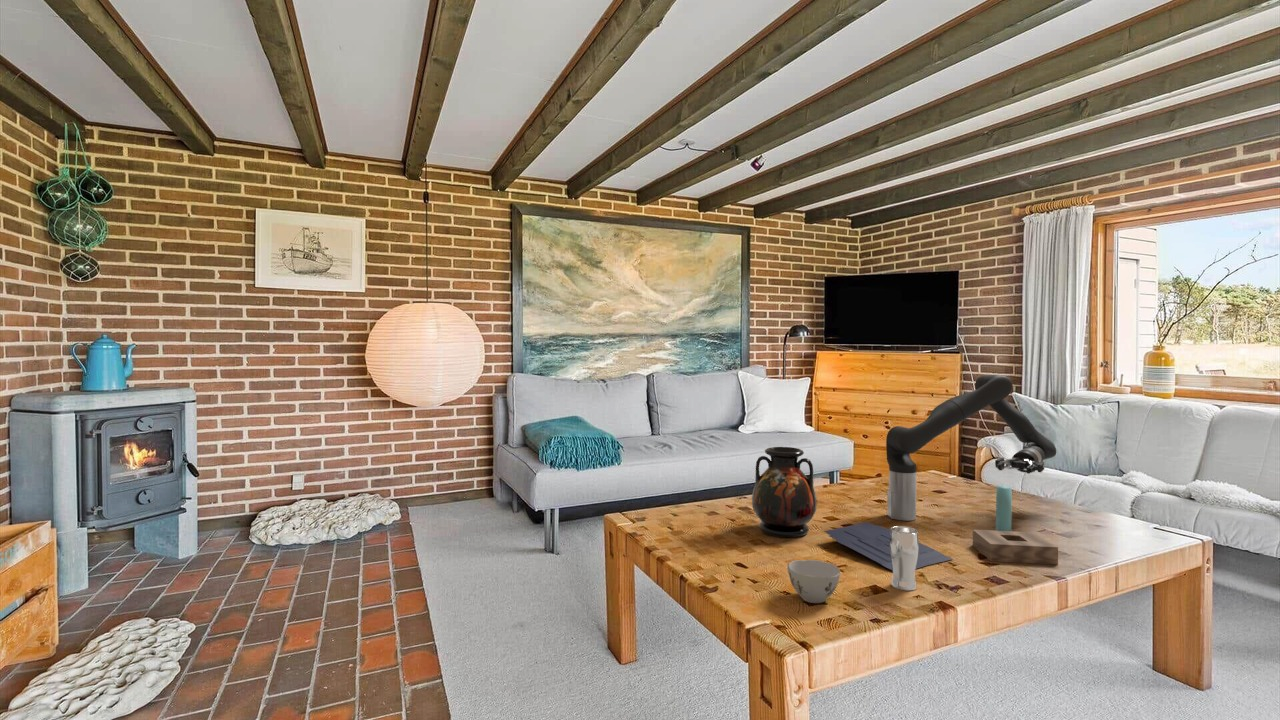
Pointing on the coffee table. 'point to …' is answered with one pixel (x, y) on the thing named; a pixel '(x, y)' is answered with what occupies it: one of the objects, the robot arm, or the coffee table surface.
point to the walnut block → (1015, 547)
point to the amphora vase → (784, 494)
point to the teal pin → (1003, 508)
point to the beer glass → (904, 557)
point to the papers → (880, 544)
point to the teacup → (813, 579)
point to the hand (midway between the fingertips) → (1013, 469)
